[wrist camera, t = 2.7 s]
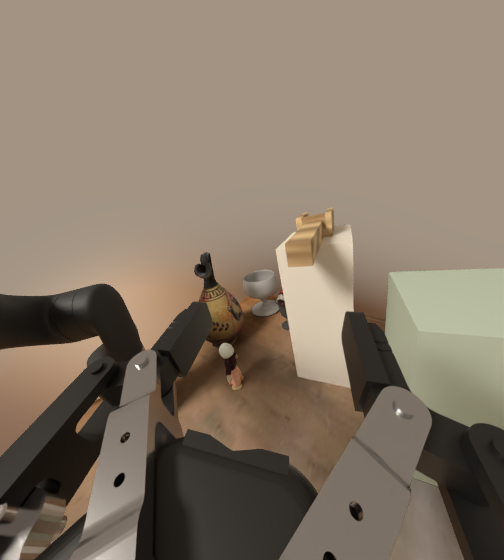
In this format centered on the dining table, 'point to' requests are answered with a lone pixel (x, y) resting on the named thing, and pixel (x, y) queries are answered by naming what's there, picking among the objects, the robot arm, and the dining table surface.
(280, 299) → the sundae
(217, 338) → the ceramic jug
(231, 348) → the grandmother figurine
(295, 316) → the tall stand
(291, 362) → the dining table surface
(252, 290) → the chalice
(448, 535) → the dining table surface
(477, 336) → the green tall block
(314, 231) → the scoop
